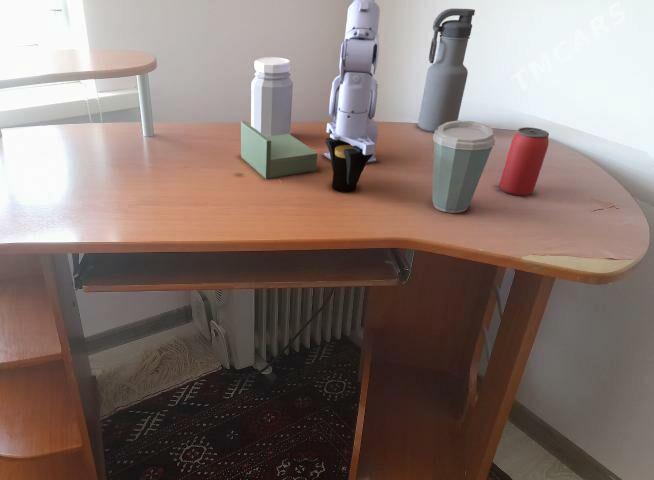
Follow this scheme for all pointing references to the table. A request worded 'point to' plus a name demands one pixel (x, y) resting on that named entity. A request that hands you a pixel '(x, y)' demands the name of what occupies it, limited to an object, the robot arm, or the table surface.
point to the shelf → (275, 153)
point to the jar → (271, 96)
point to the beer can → (524, 161)
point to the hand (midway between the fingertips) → (345, 178)
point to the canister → (341, 171)
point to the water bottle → (446, 70)
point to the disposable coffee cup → (459, 163)
